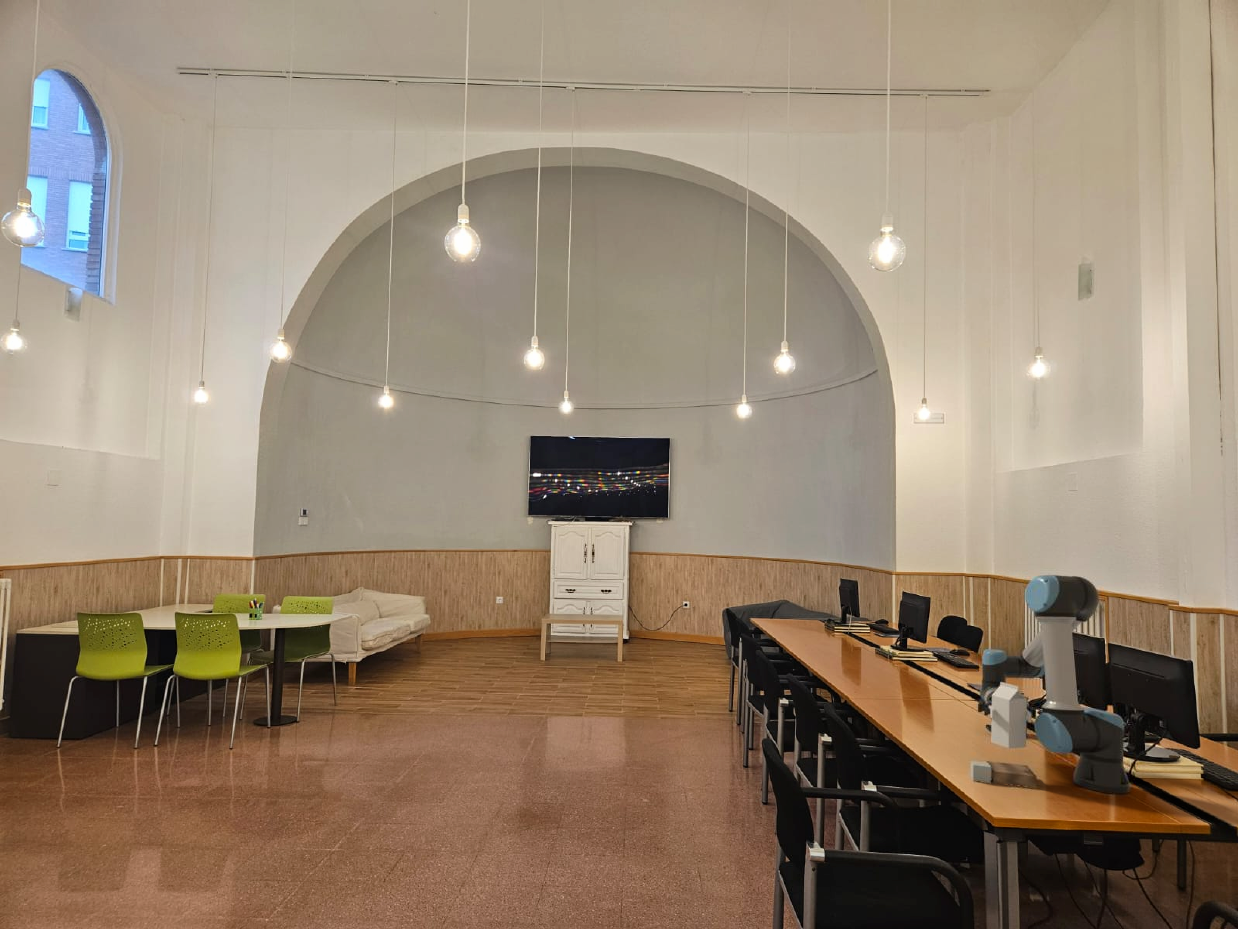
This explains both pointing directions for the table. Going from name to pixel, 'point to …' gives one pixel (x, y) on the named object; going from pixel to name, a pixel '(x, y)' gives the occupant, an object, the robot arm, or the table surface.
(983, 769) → the grey cube
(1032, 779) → the walnut block
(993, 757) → the table surface
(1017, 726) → the milk carton
